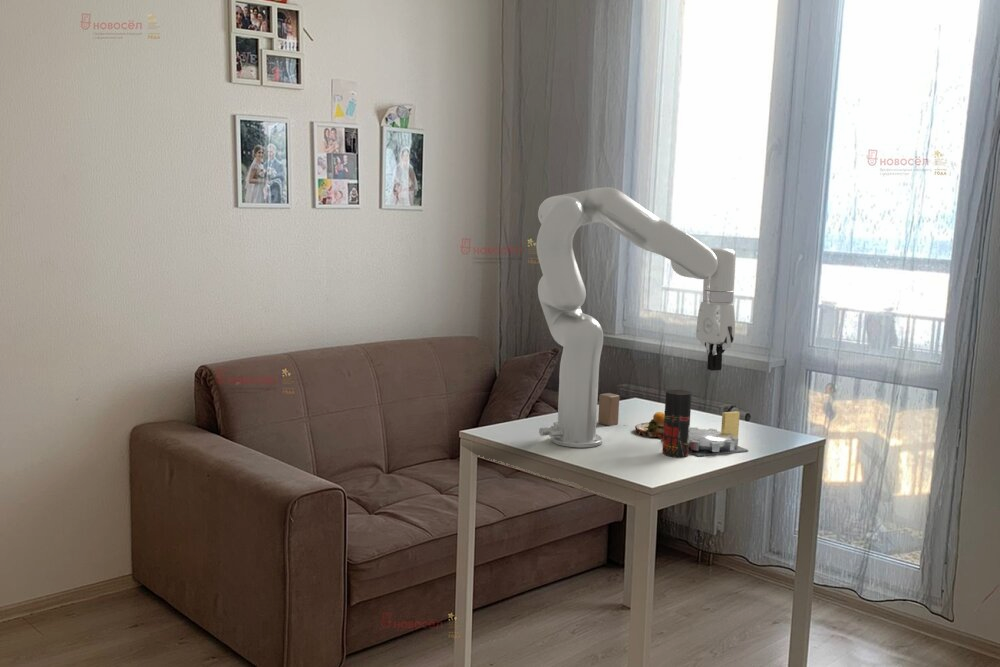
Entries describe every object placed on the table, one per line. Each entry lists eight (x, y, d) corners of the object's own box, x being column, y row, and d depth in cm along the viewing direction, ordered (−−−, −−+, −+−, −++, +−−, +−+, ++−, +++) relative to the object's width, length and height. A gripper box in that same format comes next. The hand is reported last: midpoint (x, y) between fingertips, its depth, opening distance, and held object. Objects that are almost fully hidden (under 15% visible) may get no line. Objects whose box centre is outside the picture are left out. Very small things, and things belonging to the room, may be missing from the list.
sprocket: (697, 454, 216) (699, 424, 215) (658, 438, 230) (659, 409, 229) (757, 447, 223) (759, 418, 222) (716, 432, 238) (717, 405, 237)
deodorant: (660, 450, 221) (664, 389, 219) (685, 451, 221) (689, 390, 219) (664, 457, 215) (667, 394, 213) (689, 458, 215) (693, 395, 213)
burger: (674, 429, 245) (676, 401, 244) (686, 440, 233) (688, 411, 232) (630, 428, 244) (631, 400, 243) (640, 439, 232) (641, 410, 231)
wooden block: (618, 424, 247) (620, 395, 246) (608, 426, 244) (610, 396, 243) (607, 421, 250) (608, 392, 249) (597, 423, 247) (598, 394, 246)
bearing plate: (695, 457, 216) (695, 454, 216) (657, 441, 229) (658, 439, 229) (748, 451, 223) (748, 449, 223) (709, 436, 236) (709, 434, 236)
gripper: (687, 295, 236) (684, 365, 238) (725, 301, 222) (721, 375, 225) (711, 294, 239) (707, 364, 242) (749, 300, 226) (745, 374, 228)
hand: (714, 369), depth 233 cm, fingers closed
